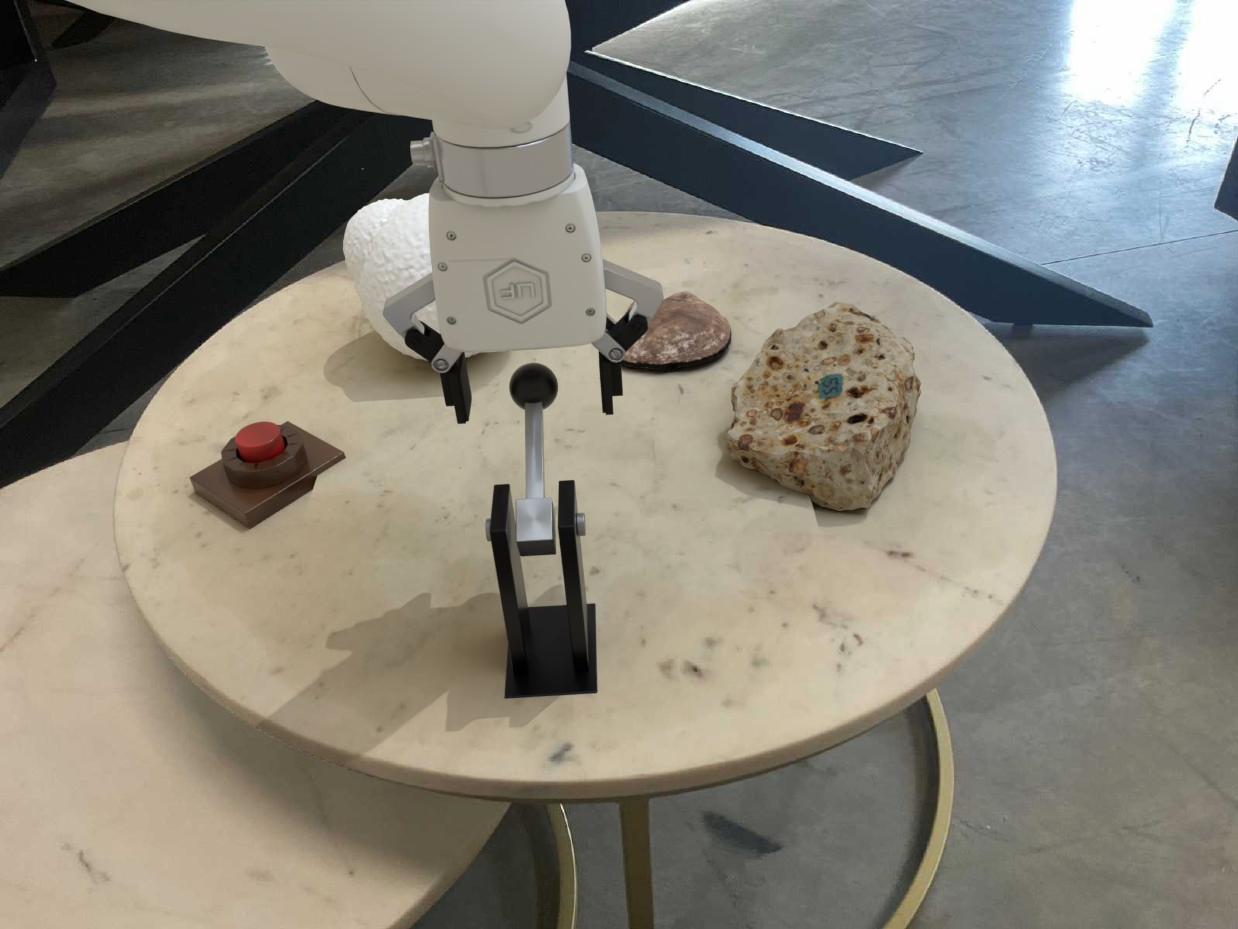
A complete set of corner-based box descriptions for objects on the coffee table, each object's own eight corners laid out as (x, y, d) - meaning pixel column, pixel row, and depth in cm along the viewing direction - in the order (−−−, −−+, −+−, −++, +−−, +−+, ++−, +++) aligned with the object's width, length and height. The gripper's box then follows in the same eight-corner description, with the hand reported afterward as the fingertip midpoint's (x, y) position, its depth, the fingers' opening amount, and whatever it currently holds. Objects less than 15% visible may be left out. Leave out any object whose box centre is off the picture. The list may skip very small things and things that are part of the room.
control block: (250, 530, 82) (238, 496, 80) (194, 492, 87) (181, 459, 85) (348, 467, 88) (339, 434, 86) (292, 435, 93) (282, 403, 90)
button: (257, 469, 84) (251, 452, 83) (232, 454, 86) (226, 436, 84) (293, 447, 86) (288, 430, 85) (268, 433, 88) (262, 416, 87)
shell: (742, 313, 106) (743, 282, 104) (719, 380, 96) (720, 347, 94) (633, 304, 108) (632, 273, 106) (601, 368, 99) (599, 335, 97)
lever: (512, 380, 69) (506, 354, 67) (559, 378, 69) (555, 351, 67) (513, 560, 63) (506, 539, 61) (564, 556, 63) (560, 536, 61)
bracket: (512, 619, 73) (487, 466, 65) (596, 614, 73) (582, 460, 65) (506, 709, 67) (478, 552, 58) (598, 704, 67) (583, 546, 58)
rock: (899, 535, 79) (879, 435, 74) (725, 525, 86) (694, 434, 80) (943, 373, 93) (929, 278, 87) (790, 376, 100) (767, 289, 94)
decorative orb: (511, 407, 94) (488, 247, 85) (327, 401, 97) (284, 245, 87) (549, 300, 110) (534, 155, 100) (390, 298, 112) (360, 156, 103)
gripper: (340, 192, 55) (398, 449, 65) (664, 172, 55) (670, 433, 65) (363, 141, 61) (413, 384, 71) (655, 123, 61) (662, 369, 71)
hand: (536, 407), depth 68 cm, fingers open, 9 cm apart
